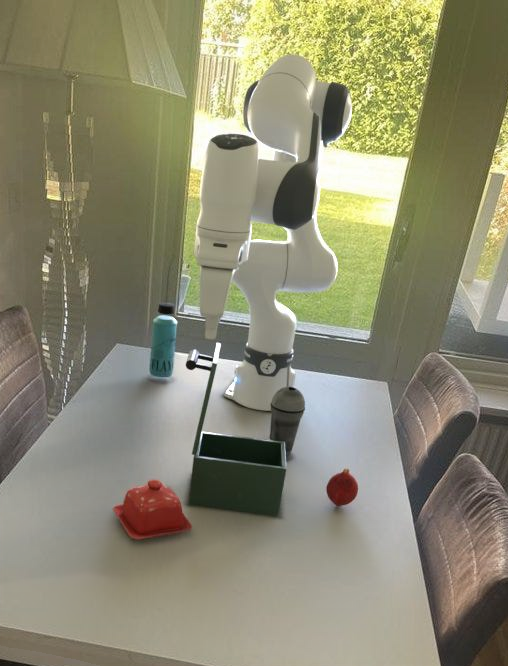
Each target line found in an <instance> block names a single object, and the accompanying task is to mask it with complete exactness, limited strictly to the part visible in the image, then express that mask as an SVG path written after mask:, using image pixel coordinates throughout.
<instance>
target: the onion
mask: <svg viewBox="0 0 508 666" xmlns="http://www.w3.org/2000/svg"><path fill="white" fill-rule="evenodd" d="M325 491H326V494H327V498H328V499H329V500H330V502H332V503H333V505H334V506H336V507H343V506H347V505H349V504H351V503H352V502H353V501H355V499H356V498H357V495H358V492H359V485H358V482H357V480H356V478H355V477H354V476H353V475H352V474H351V473H350V469H349V468H348V467H345V468H343V471H341V472H338V473H336V474H334V475H332V476H331V477H330V478H329V480H328V482H327V484H326V490H325Z"/></svg>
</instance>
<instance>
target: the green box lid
mask: <svg viewBox="0 0 508 666" xmlns="http://www.w3.org/2000/svg"><path fill="white" fill-rule="evenodd" d="M221 347H222V343H221V342H216V343H215V348H214V353H213V356H210V355H205V354H201V353H200V352H199V351H198V350H197V349H191V350H190V351H189V352H188V355H187V357H186V362H185V368H186V369H187V370H189V371H193V370H195V369H199V370H204V371H208V372H209V375H208V380H207V383H206V388H205V391H204V392H205V393H204V396H203V402H202V406H201V411H200V415H199V418H198V422H197V427H196V432H195V436H194V442H193V446H192V452H191V455H193V456H194V455H196V453H197V449H198V445H199V441H200V436H201V432H203V427H204V423H205V418H206V415H207V409H208V405H209V401H210V398H211V397H210V396H211V393H212V388H213V383H214V380H215V375H216V371H217V367H218V362H219V357H220V353H221V352H220V351H221ZM198 360H203V361H207V362H211V365H209V364H205V363H204V364H203V363H199V362H198Z"/></svg>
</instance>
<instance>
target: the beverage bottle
mask: <svg viewBox="0 0 508 666" xmlns="http://www.w3.org/2000/svg"><path fill="white" fill-rule="evenodd" d="M157 312H158V313H159V314H162V315H157V316H156V317H155V318H154V319H153V320H152V335H151V348H150V354H149V355H150V357H149V368H148V371H149V375H150V376H153V377H155V378H170V377H172V376H173V373H174V370H175V369H174V368H175V365H174V364H175V356H176V355H175V350H176V345H177V344H176V343H177V342H176V341H177V325H178V321H177V320H176V319H175V318H174V317H173V316H171V315H173V314H174V315H175V304H173V303H170V302H160V303H159V304H158V308H157Z"/></svg>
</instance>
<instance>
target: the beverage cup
mask: <svg viewBox="0 0 508 666" xmlns="http://www.w3.org/2000/svg"><path fill="white" fill-rule="evenodd" d="M289 374H290V366H288V367H287V385H286V387H284V388H281V389H280V390H278V391H277V392H276V393H275V395H274V396H273V398H272V402H271V404H270V405H271V411H270V414H271V415H270V427H269V428H270V429H269V440H273V441H281V442H285V453H286V461H287V460H289V459H290V457H291V454H292V452H293V448H294V445H295V441H296V437H297V433H298V430H299V426H300V424H301V423H300V422H301V419H302V418H303V415H304V412H305V410H306V401H305V397H304V394H303V393H302V392H301V391H300V390H299V389H298V388H297V387H295V386H294V387H289Z"/></svg>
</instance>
